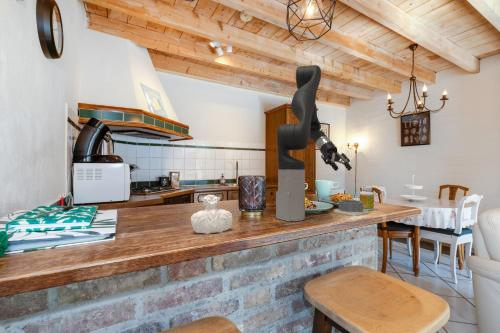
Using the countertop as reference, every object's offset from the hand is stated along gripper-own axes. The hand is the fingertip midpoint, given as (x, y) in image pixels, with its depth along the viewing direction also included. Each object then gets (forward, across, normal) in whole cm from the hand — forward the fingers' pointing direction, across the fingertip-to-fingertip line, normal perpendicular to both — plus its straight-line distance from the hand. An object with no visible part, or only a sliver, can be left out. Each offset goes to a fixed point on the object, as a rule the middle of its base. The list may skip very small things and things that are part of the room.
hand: (343, 169), depth 112 cm
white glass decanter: (+23, -69, 0) cm, 73 cm away
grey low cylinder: (+22, -12, +2) cm, 25 cm away
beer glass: (+21, 0, +4) cm, 21 cm away
